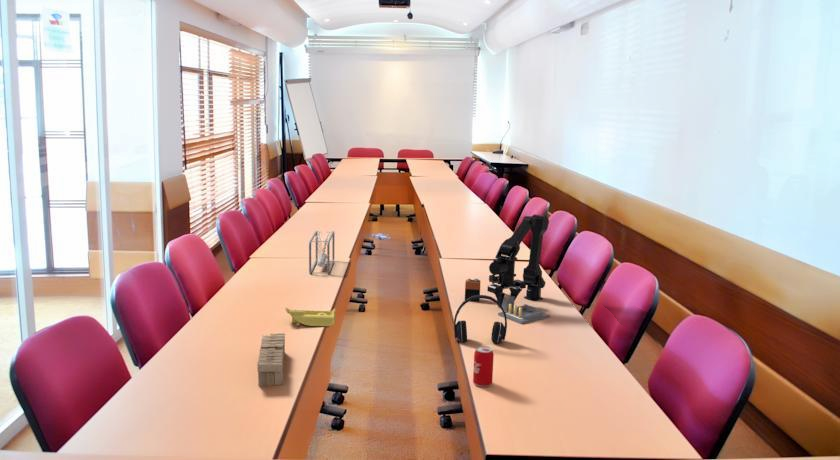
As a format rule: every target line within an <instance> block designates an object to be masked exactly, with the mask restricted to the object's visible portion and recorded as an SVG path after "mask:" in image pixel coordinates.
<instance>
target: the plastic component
mask: <svg viewBox="0 0 840 460" xmlns="http://www.w3.org/2000/svg"><path fill="white" fill-rule="evenodd" d="M285 312H286V313H287V314H289V315H290V316H291V322H292V323H293V324H294V323H295V324H296V323H297V324H302V325H304V326H308V327H309V326H310V327H332V326H334V324H335V323H336V308H333V309H332V310H331V311H330V310H328V311H327V310H325V311H324V310H300V309H299V310H298V309H289V308H288V307H287V306H286V307H285Z"/></svg>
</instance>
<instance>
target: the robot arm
mask: <svg viewBox="0 0 840 460" xmlns="http://www.w3.org/2000/svg"><path fill="white" fill-rule="evenodd" d="M549 224H550V219H549V217H548V216H546V215H539V214H532V215H531V216H528V215H524V216H523V217H522V220H521V222H520V224H519V225H517V226H518V227H517V228H516V229H515V231H514V232H513V234H512V235H511V236H510V237H509V238H506V239H505V240H504V241H503V242H502V243H501V245H500V246H499V247H498V250H497V252H496V255H495V258H494V259H493V262H491V263H490V264H489V267H488V271H489V272H490V275H489V276H488V281H489V282H490V283H491V284H488V286H487V292H489V293H492V294H493V295H495V297H496V300H497V301H498V302H499V303H500V304H501V306H502V303H503V299H504V295H505V294H506V293H505V292H504V290H506V289H509V292H510V295H511V296H514V302H515V301H516V299H517V298H518V296H519V295H520V293H521V292H522V291H523V289H526V292H525V293H526V295H524V296H523V298H524V299H526V300H530V301H532V302H535V301H540V300H543V299H544V297H542V289H544V288H545V286H546V281H545V279H544V277H543V271H542V269H541V266H540V264H541V254H542V247H543V239H544V235H545V233H546V232H547V231H548V227H549ZM529 232H531V241H530V250H529V260H528V264H527V266H526V267H524V268H523V271H522V272H523V273H522V280H520V279H515V277H517V274H516V273H515V266H516V265H515V263H516V261H518V257H517V255H518V254H519V252H520V250H521V244H522V242H523V240H524V239H525V237H527V235H528V233H529Z"/></svg>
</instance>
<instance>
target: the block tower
mask: <svg viewBox="0 0 840 460" xmlns="http://www.w3.org/2000/svg"><path fill="white" fill-rule="evenodd" d="M285 334H286V333H285V332H277V333H269V334H266V335H265V334H264V335H262V337H261V343H260V349H259V355H258V361H257V379H258V381H257V383H258V387H262V386H264V387H265V386H280V385H281V386H282V385H283V384H284V381H283V380H284V379H283V378H284V364H285V363H284V361H285V355H286V352H285V351H286V348H285V347H286V346H285V344H286V343H285V341H286V340H285V339H286V337H285Z"/></svg>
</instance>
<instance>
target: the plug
mask: <svg viewBox="0 0 840 460" xmlns="http://www.w3.org/2000/svg"><path fill="white" fill-rule="evenodd" d="M509 304H512V308H514V306H515V301H514V296H511V294H508V293H505V295H504V299H503V303H502V308H503V309H504V311H509ZM497 308H498V309H500V310H501V308H500V307H499V306H498V305H497Z"/></svg>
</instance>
